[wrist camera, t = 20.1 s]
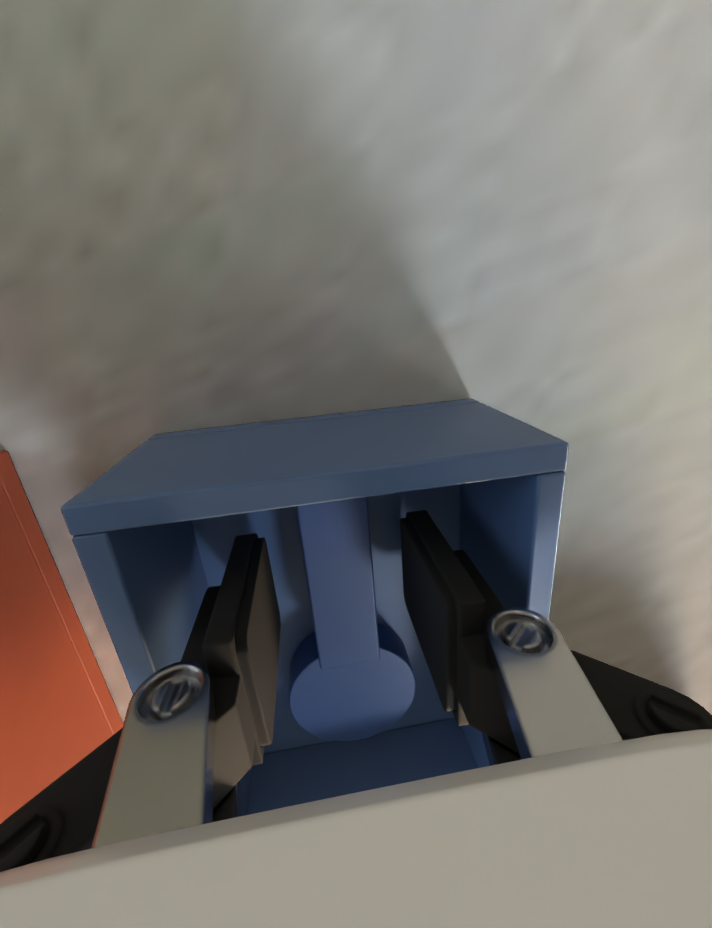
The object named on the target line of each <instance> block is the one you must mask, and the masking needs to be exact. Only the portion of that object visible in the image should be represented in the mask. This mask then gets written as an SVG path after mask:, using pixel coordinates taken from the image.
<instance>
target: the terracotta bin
mask: <svg viewBox="0 0 712 928" xmlns="http://www.w3.org/2000/svg"><path fill="white" fill-rule="evenodd" d="M121 728H123V723H122V721H121V718H120V716H119V713H118V711H117V709H116V706H115V704H114V702H113V699H112V697H111V695H110V692H109V690H108V688H107V685H106V683H105V680H104V678H103V676H102V673H101V671H100V669H99V666H98V664H97V662H96V659H95V657H94V655H93V652H92V650H91V647H90V645H89V643H88V640H87V638H86V636H85V633H84V631H83V629H82V626H81V624H80V622H79V619H78V617H77V614H76V612H75V610H74V607H73V605H72V603H71V600H70V598H69V596H68V593H67V591H66V589H65V586H64V584H63V581H62V579H61V577H60V574H59V572H58V570H57V567H56V565H55V563H54V560H53V558H52V556H51V553H50V551H49V548H48V546H47V544H46V541H45V539H44V537H43V534H42V532H41V530H40V527H39V525H38V523H37V520H36V518H35V515H34V513H33V511H32V508H31V506H30V504H29V501H28V499H27V497H26V494H25V492H24V489H23V487H22V485H21V482H20V480H19V478H18V475H17V473H16V471H15V468H14V466H13V464H12V461H11V459H10V456H9V454H8V452H7V451H0V824H1V823H2V822H3V821H4V820H6V819H7V818H8V817H9V816H10V815H12V814H13V813H14V812H16V811H17V810H18V809H19V808H21V807H22V806H23V805H25V804H26V803H27V802H28V801H30V800H31V799H32V798H33V797H35V796H36V795H37V794H39V793H40V792H41V791H42V790H44V789H45V788H46V787H47V786H49V785H50V784H51V783H53V782H54V781H55V780H56V779H58V778H59V777H60V776H61V775H63V774H64V773H65V772H67V771H68V770H69V769H70V768H72V767H73V766H74V765H75V764H77V763H78V762H79V761H81V760H82V759H83V758H84V757H86V756H87V755H88V754H90V753H91V752H92V751H93V750H95V749H96V748H97V747H98V746H100V745H101V744H102V743H104V742H105V741H106V740H107V739H109V738H110V737H111V736H112V735H114V734H115V733H116V732H118V731H119V730H120V729H121Z"/></svg>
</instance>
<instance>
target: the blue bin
mask: <svg viewBox="0 0 712 928" xmlns="http://www.w3.org/2000/svg"><path fill="white" fill-rule="evenodd" d="M568 449H569V444H568V443H567V442H565V441H563V440H561V439H559V438H557V437H554V436H552V435H550V434H548V433H546V432H544V431H541V430H539V429H537V428H535V427H533V426H531V425H528V424H526V423H524V422H522V421H520V420H517V419H515V418H513V417H511V416H509V415H507V414H504V413H502V412H500V411H498V410H496V409H493V408H491V407H489V406H487V405H485V404H483V403H480V402H478V401H476V400H474V399H462V400H453V401H444V402H435V403H426V404H418V405H409V406H400V407H391V408H382V409H373V410H364V411H356V412H347V413H338V414H329V415H320V416H311V417H302V418H293V419H285V420H276V421H267V422H258V423H249V424H240V425H231V426H222V427H214V428H205V429H196V430H187V431H178V432H169V433H160V434H155V435H154V436H152V437H151V438H150V439H148V440H147V441H146V442H144V443H143V444H142V445H141V446H139V447H138V448H137V449H135V450H134V451H133V452H132V453H130V454H129V455H128V456H126V457H125V458H124V459H122V460H121V461H120V462H119V463H117V464H116V465H115V466H113V467H112V468H111V469H109V470H108V471H107V472H106V473H104V474H103V475H102V476H100V477H99V478H98V479H96V480H95V481H94V482H93V483H91V484H90V485H89V486H87V487H86V488H85V489H84V490H82V491H81V492H80V493H78V494H77V495H76V496H74V497H73V498H72V499H71V500H69V501H68V502H67V503H65V504H64V505H63V506H62V507H61V512H62V514H63V517H64V519H65V522H66V524H67V527H68V529H69V532H70V534H71V535H73V538H72V541H73V543H74V546H75V548H76V551H77V553H78V556H79V558H80V561H81V563H82V566H83V569H84V571H85V574H86V576H87V579H88V581H89V584H90V586H91V589H92V591H93V594H94V596H95V599H96V601H97V604H98V606H99V609H100V612H101V614H102V617H103V619H104V622H105V624H106V627H107V629H108V632H109V634H110V637H111V639H112V642H113V644H114V647H115V649H116V652H117V655H118V657H119V660H120V662H121V665H122V667H123V670H124V672H125V675H126V677H127V680H128V682H129V685H130V687H131V690H132V692H133V694H134V692H135V691H136V690H137V689H138V687H139V686H140V685H141V683H142V682H144V681H145V680H146V679H147V678H148V677H149V676H150V675H151V674H153V673H155V672H156V671H158V670H160V669H161V668H163V667H165V666H168V665H170V664H173V663H176V662H181V659H182V656H183V653H184V651H185V648H186V645H187V642H188V639H189V637H190V634H191V631H192V628H193V625H194V623H195V620H196V617H197V614H198V612H199V609H200V606H201V603H202V600H203V598H204V595H205V592H206V590H207V588H209V587H214V586H220V585H221V582H222V579H223V576H224V573H225V569H226V566H227V563H228V560H229V556H230V553H231V550H232V547H233V543H234V540H235V537H236V536H239V535H247V534H254V533H257V535H258V538H262V537H265V540H266V544H267V549H268V554H269V559H270V565H271V570H272V575H273V580H274V585H275V591H276V596H277V601H278V606H279V611H280V619H281V630H280V644H279V658H278V672H277V686H276V700H275V714H274V728H273V740H272V744H270V745H265V746H264V752H263V763H262V764H258V765H253V766H252V767H251V768H250V769H249V770H248V772H247V773H246V774H245V775H244V776H243V777H242V778H241V779H240V784H241V806H242V816H245V815H250V814H254V813H259V812H264V811H269V810H274V809H278V808H283V807H288V806H293V805H298V804H303V803H308V802H312V801H317V800H322V799H327V798H332V797H337V796H342V795H347V794H352V793H357V792H362V791H367V790H371V789H376V788H381V787H386V786H391V785H396V784H401V783H406V782H411V781H416V780H421V779H426V778H431V777H436V776H441V775H446V774H451V773H456V772H461V771H466V770H471V769H476V768H481V767H486V766H490V765H489V761H488V757H487V753H486V749H485V745H484V741H483V735H482V732H480V731H479V730H477V729H475V728H473V727H472V726H470V725H469V724H467V725H462V726H458V725H457V722H456V720H455V717H454V714H453V712H452V711H447V712H446V711H445V710H444V709H443V706H442V704H441V701H440V698H439V695H438V693H437V690H436V687H435V684H434V682H433V679H432V676H431V673H430V671H429V668H428V665H427V663H426V660H425V657H424V654H423V652H422V649H421V646H420V643H419V641H418V638H417V635H416V632H415V630H414V627H413V624H412V621H411V619H410V616H409V613H408V611H407V608H406V605H405V600H404V592H403V573H402V553H401V533H400V519H401V518H406V513H407V512H413V511H421V510H426V511H427V512H428V513H429V515H430V516H431V518H432V520H433V521H434V523H435V524H436V526H437V527H438V529H439V530H440V532H441V533H442V535H443V536H444V538H445V539H446V541H447V542H448V544H449V545H450V547H451V548H452V550H453V551H455V550H463V551H464V552H465V553H466V554H467V555H468V557H469V558H470V559H471V561H472V562H473V564H474V565H475V567H476V568H477V569H478V571H479V572H480V574H481V575H482V576H483V578H484V579H485V581H486V582H487V584H488V585H489V586H490V588H491V589H492V591H493V592H494V593H495V595H496V596H497V598H498V599H499V600H500V602H501V603H502V605H503V606H504V608H510V607H516V608H525V609H528V610H532V611H535V612H537V613H539V614H541V615H543V616H545V617H546V618H547V619H549V615H550V606H551V597H552V588H553V580H554V571H555V562H556V554H557V545H558V536H559V527H560V519H561V510H562V501H563V493H564V484H565V472H564V470H565V469H566V466H567V458H568ZM362 497H368V509H369V521H370V534H371V547H372V560H373V573H374V586H375V598H376V611H377V623H379V624H382V625H384V626H386V627H388V628H389V629H391V630H392V631H394V632H395V633H396V634H397V635H398V636H399V637H400V639H401V640H402V641H403V643H404V645H405V648H406V651H407V654H408V657H409V660H410V663H411V667H412V670H413V673H414V676H415V681H416V691H415V695H414V699H413V701H412V704H411V705H410V707H409V709H408V710H407V712H406V713H405V714H404V715H403V716H402V718H401V719H400V720H398V721H397V722H396V723H395V724H394V725H392V726H391V727H389V728H388V729H386V730H384V731H382V732H380V733H378V734H376V735H373V736H370V737H367V738H363V739H359V740H352V741H334V740H327V739H324V738H320V737H317V736H315V735H313V734H311V733H309V732H307V731H306V730H305V729H303V728H302V727H301V726H300V725H299V724H298V723H297V722H296V720H295V719H294V717H293V715H292V713H291V710H290V707H289V681H290V665H291V661H292V658H293V656H294V653H295V652H296V650H297V649H298V647H299V646H300V644H301V643H302V642H303V641H304V640H305V639H306V638H307V637H308V636H310V635H311V634H312V633H314V625H313V618H312V612H311V605H310V599H309V592H308V585H307V579H306V572H305V566H304V559H303V552H302V546H301V539H300V533H299V526H298V519H297V513H296V506H302V505H309V504H317V503H324V502H332V501H339V500H347V499H354V498H362Z"/></svg>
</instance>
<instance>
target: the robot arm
mask: <svg viewBox="0 0 712 928" xmlns="http://www.w3.org/2000/svg"><path fill="white" fill-rule="evenodd" d="M400 533H401V553H402V573H403V592H404V600H405V605H406V608H407V611H408V613H409V616H410V619H411V621H412V624H413V627H414V630H415V632H416V635H417V638H418V641H419V643H420V646H421V649H422V652H423V654H424V657H425V660H426V663H427V665H428V668H429V671H430V673H431V676H432V679H433V682H434V684H435V687H436V690H437V693H438V695H439V698H440V701H441V704H442V706H443V709H444V710H445V711H446V712H447V711H452V712H453V714H454V717H455V720H456V722H457V725H458V726H462V725H467V724H469V725H470V726H472V727H473V728H475V729H477V730H479V731H480V732H482V735H483V741H484V745H485V749H486V753H487V757H488V761H489V765H490V766H486V767H481V768H476V769H471V770H466V771H461V772H456V773H451V774H446V775H441V776H436V777H431V778H426V779H421V780H416V781H411V782H406V783H401V784H396V785H391V786H386V787H381V788H376V789H371V790H367V791H362V792H357V793H352V794H347V795H342V796H337V797H332V798H327V799H322V800H317V801H312V802H308V803H303V804H298V805H293V806H288V807H283V808H278V809H274V810H269V811H264V812H259V813H254V814H250V815H245V816H242V806H241V784H240V779H241V778H242V777H243V776H244V775H245V774H246V773H247V772H248V770H249V769H250V768H251V767H252V766H253V765H258V764H262V763H263V752H264V746H265V745H270V744H272V740H273V728H274V714H275V700H276V686H277V672H278V658H279V644H280V630H281V619H280V611H279V606H278V601H277V596H276V591H275V585H274V580H273V575H272V570H271V565H270V559H269V554H268V549H267V544H266V540H265V537H262V538H258V535H257V533H254V534H247V535H239V536H236V537H235V540H234V543H233V547H232V550H231V553H230V556H229V560H228V563H227V566H226V569H225V573H224V576H223V579H222V582H221V585H220V586H214V587H209V588H207V590H206V592H205V595H204V598H203V600H202V603H201V606H200V609H199V612H198V614H197V617H196V620H195V623H194V625H193V628H192V631H191V634H190V637H189V639H188V642H187V645H186V648H185V651H184V653H183V656H182V659H181V662H176V663H173V664H170V665H168V666H165V667H163V668H161V669H160V670H158V671H156V672H155V673H153V674H151V675H150V676H149V677H148V678H147V679H146V680H145V681H144V682H142V683H141V685H140V686H139V687H138V689H137V690H136V691H135V692H134V694H133V696H132V698H131V701H130V703H129V706H128V710H127V713H126V717H125V721H124V725H123V728H121V729H120V730H119V731H118V732H116V733H115V734H114V735H112V736H111V737H110V738H109V739H107V740H106V741H105V742H104V743H102V744H101V745H100V746H98V747H97V748H96V749H95V750H93V751H92V752H91V753H90V754H88V755H87V756H86V757H84V758H83V759H82V760H81V761H79V762H78V763H77V764H75V765H74V766H73V767H72V768H70V769H69V770H68V771H67V772H65V773H64V774H63V775H61V776H60V777H59V778H58V779H56V780H55V781H54V782H53V783H51V784H50V785H49V786H47V787H46V788H45V789H44V790H42V791H41V792H40V793H39V794H37V795H36V796H35V797H33V798H32V799H31V800H30V801H28V802H27V803H26V804H25V805H23V806H22V807H21V808H19V809H18V810H17V811H16V812H14V813H13V814H12V815H10V816H9V817H8V818H7V819H6V820H4V821H3V822H2V823H1V824H0V928H712V715H711V714H710V713H709V712H707V711H706V710H705V709H704V708H703V707H702V706H700V705H699V704H698V703H696V702H695V701H693V700H692V699H690V698H689V697H687V696H685V695H683V694H681V693H679V692H677V691H675V690H672V689H670V688H667V687H665V686H662V685H659V684H657V683H654V682H652V681H649V680H647V679H644V678H642V677H639V676H636V675H634V674H631V673H629V672H626V671H624V670H621V669H619V668H616V667H613V666H611V665H608V664H606V663H603V662H601V661H598V660H595V659H593V658H590V657H588V656H585V655H583V654H580V653H578V652H575V651H572V650H570V648H569V647H568V645H567V643H566V642H565V640H564V638H563V636H562V635H561V633H560V631H559V630H558V629H557V627H556V626H555V625H554V624H553V622H551V621H550V620H549V619H547V618H546V617H545V616H543V615H541V614H539V613H537V612H535V611H532V610H528V609H525V608H516V607H510V608H504V606H503V605H502V603H501V602H500V600H499V599H498V598H497V596H496V595H495V593H494V592H493V591H492V589H491V588H490V586H489V585H488V584H487V582H486V581H485V579H484V578H483V576H482V575H481V574H480V572H479V571H478V569H477V568H476V567H475V565H474V564H473V562H472V561H471V559H470V558H469V557H468V555H467V554H466V553H465V552H464V551H463V550H455V551H453V550H452V548H451V547H450V545H449V544H448V542H447V541H446V539H445V538H444V536H443V535H442V533H441V532H440V530H439V529H438V527H437V526H436V524H435V523H434V521H433V520H432V518H431V516H430V515H429V513H428V512H427V511H426V510H421V511H413V512H407V513H406V518H401V519H400Z"/></svg>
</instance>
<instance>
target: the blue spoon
mask: <svg viewBox="0 0 712 928" xmlns="http://www.w3.org/2000/svg"><path fill="white" fill-rule="evenodd" d="M296 513H297V519H298V526H299V533H300V539H301V546H302V552H303V559H304V566H305V572H306V579H307V585H308V592H309V599H310V605H311V612H312V618H313V625H314V633H312V634H311V635H310V636H308V637H307V638H306V639H305V640H304V641H303V642H302V643H301V644H300V646H299V647H298V649H297V650H296V652H295V653H294V656H293V658H292V661H291V665H290V681H289V707H290V710H291V713H292V715H293V717H294V719H295V720H296V722H297V723H298V724H299V725H300V726H301V727H302V728H303V729H305V730H306V731H307V732H309V733H311V734H313V735H315V736H317V737H320V738H324V739H327V740H334V741H352V740H359V739H363V738H367V737H370V736H373V735H376V734H378V733H380V732H382V731H384V730H386V729H388V728H389V727H391V726H392V725H394V724H395V723H396V722H397V721H398V720H400V719H401V718H402V716H403V715H404V714H405V713H406V712H407V710H408V709H409V707H410V705H411V704H412V701H413V699H414V695H415V691H416V681H415V676H414V673H413V670H412V667H411V663H410V660H409V657H408V654H407V651H406V648H405V645H404V643H403V641H402V640H401V639H400V637H399V636H398V635H397V634H396V633H395V632H394V631H392V630H391V629H389V628H388V627H386V626H384V625H382V624H379V623H377V611H376V598H375V586H374V573H373V560H372V547H371V534H370V521H369V509H368V497H362V498H354V499H347V500H339V501H332V502H324V503H317V504H309V505H302V506H296Z"/></svg>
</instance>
